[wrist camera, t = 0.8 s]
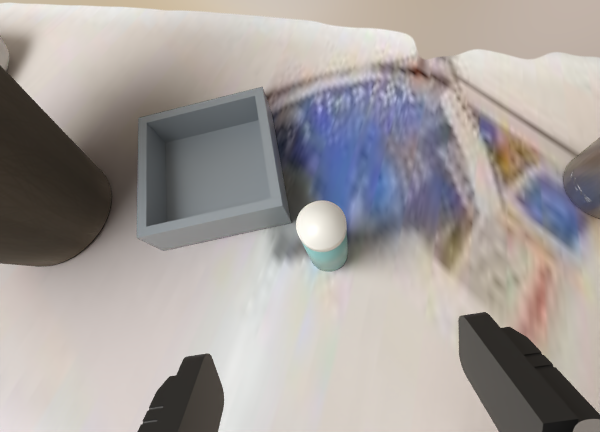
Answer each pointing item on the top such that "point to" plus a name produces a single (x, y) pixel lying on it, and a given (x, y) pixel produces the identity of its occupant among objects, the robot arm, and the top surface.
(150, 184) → the slate bin
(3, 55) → the square bowl
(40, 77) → the top surface
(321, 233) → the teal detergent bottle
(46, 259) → the waste basket
